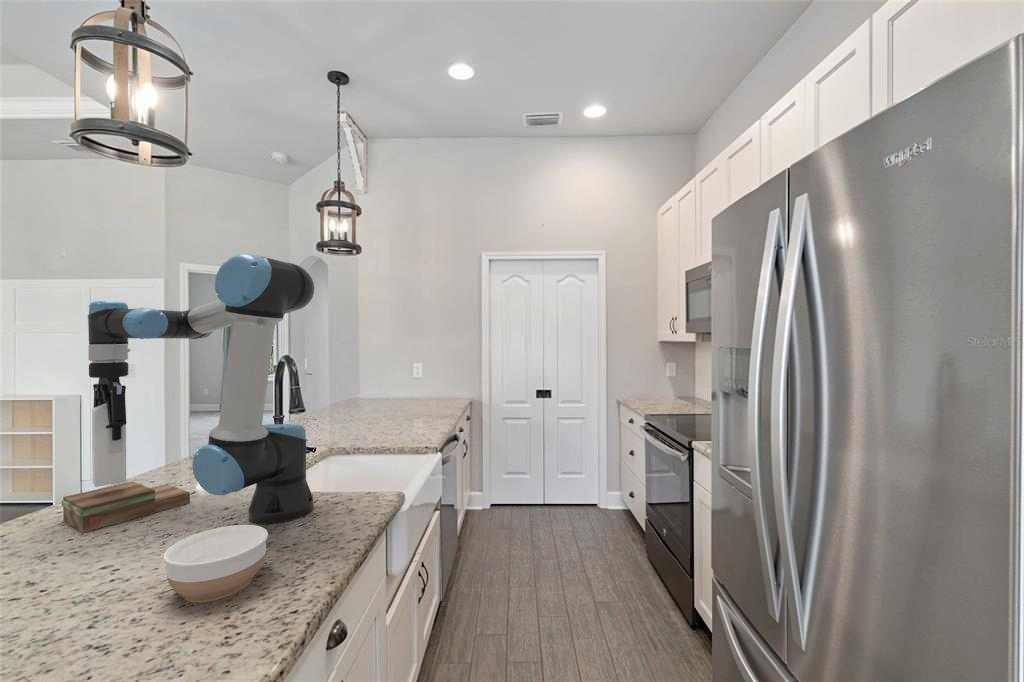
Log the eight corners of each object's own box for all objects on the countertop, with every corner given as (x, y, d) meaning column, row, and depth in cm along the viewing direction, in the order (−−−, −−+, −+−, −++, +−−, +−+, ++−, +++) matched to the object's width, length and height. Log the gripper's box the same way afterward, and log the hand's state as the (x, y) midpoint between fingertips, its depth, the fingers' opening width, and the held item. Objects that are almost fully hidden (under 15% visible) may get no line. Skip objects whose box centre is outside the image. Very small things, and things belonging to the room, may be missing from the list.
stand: (190, 503, 122) (190, 481, 122) (82, 533, 103) (81, 508, 103) (167, 494, 130) (167, 473, 130) (61, 521, 110) (61, 497, 110)
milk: (94, 487, 109) (93, 398, 109) (92, 482, 113) (91, 396, 113) (127, 481, 113) (125, 396, 113) (123, 476, 117) (122, 394, 117)
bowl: (265, 555, 92) (265, 518, 92) (271, 592, 78) (271, 548, 78) (169, 578, 83) (169, 536, 83) (157, 624, 70) (156, 574, 70)
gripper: (143, 361, 111) (143, 452, 111) (113, 360, 121) (113, 443, 121) (104, 363, 105) (104, 459, 105) (76, 361, 115) (76, 449, 115)
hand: (109, 450), depth 113 cm, fingers closed on milk, 7 cm apart
